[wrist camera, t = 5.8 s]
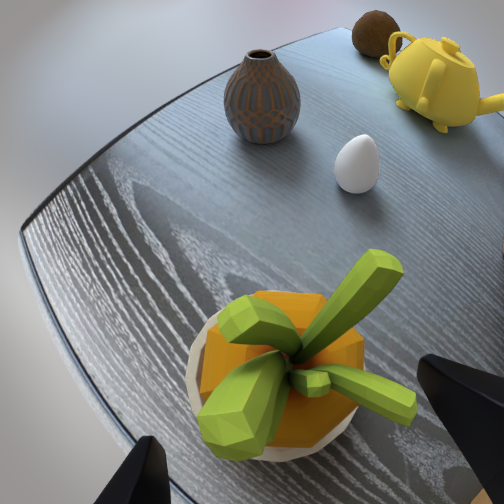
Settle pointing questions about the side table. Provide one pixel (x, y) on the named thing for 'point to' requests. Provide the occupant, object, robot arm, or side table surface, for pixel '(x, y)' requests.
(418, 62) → the teapot
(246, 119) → the vase
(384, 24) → the potato
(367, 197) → the side table surface
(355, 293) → the carrot
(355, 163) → the egg
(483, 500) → the stand
